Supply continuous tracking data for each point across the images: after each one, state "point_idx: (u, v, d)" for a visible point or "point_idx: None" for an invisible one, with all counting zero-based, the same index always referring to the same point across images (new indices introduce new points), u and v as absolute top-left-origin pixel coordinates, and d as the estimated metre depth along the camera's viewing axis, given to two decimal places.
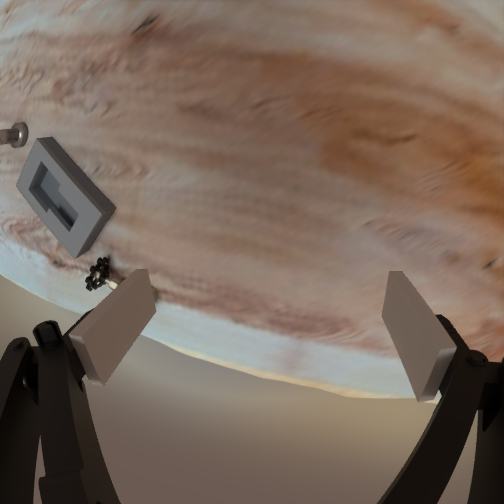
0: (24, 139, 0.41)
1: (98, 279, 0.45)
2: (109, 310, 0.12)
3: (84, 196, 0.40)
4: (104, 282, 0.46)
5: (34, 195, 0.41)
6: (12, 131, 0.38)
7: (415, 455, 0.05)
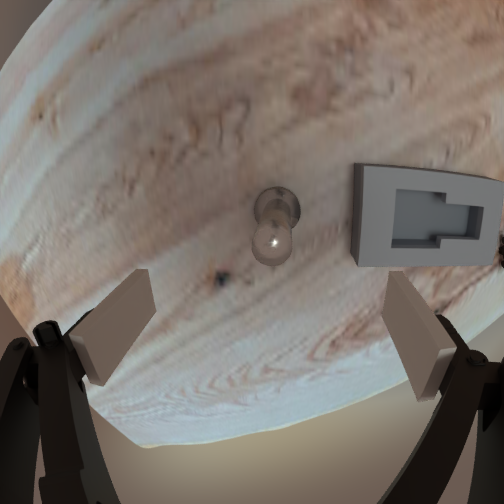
0: None
1: None
2: (109, 310, 0.12)
3: (481, 179, 0.26)
4: None
5: (404, 247, 0.30)
6: (280, 202, 0.31)
7: (415, 455, 0.05)
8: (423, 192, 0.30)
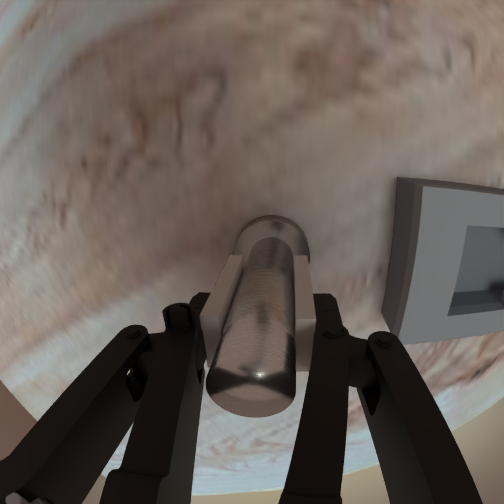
0: None
1: None
2: (229, 291, 0.13)
3: None
4: None
5: (464, 311, 0.17)
6: (276, 248, 0.18)
7: (297, 436, 0.06)
8: None
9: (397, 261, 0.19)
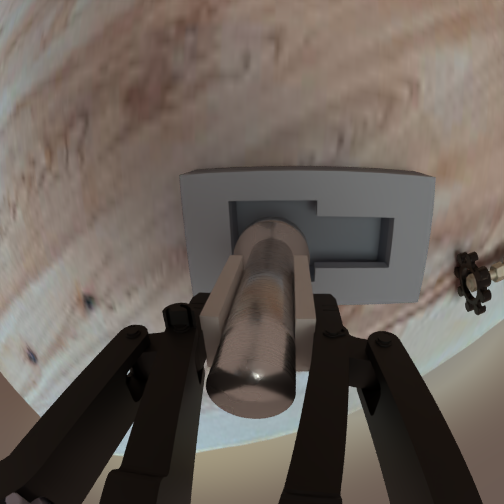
0: None
1: None
2: (229, 291, 0.13)
3: (386, 175, 0.20)
4: None
5: None
6: (276, 249, 0.18)
7: (297, 436, 0.06)
8: (296, 200, 0.25)
9: None
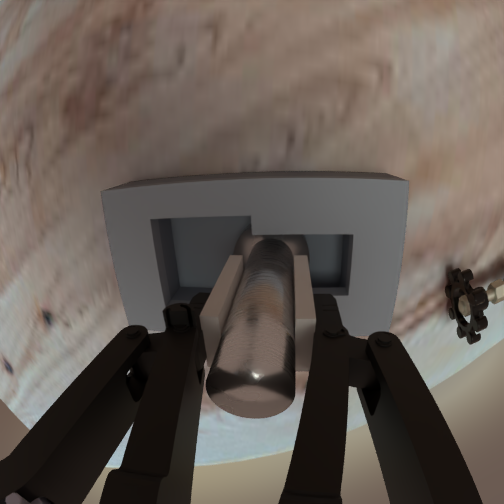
0: None
1: None
2: (229, 291, 0.13)
3: (341, 181, 0.16)
4: None
5: None
6: (275, 249, 0.18)
7: (297, 436, 0.06)
8: None
9: None
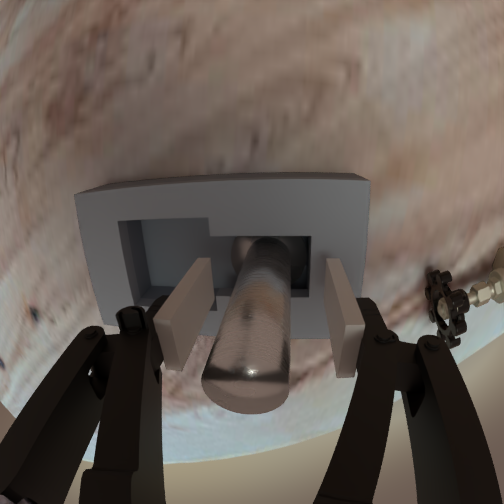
0: None
1: (458, 312, 0.18)
2: (187, 295, 0.13)
3: (297, 182, 0.17)
4: None
5: None
6: (272, 248, 0.18)
7: (339, 439, 0.06)
8: None
9: None
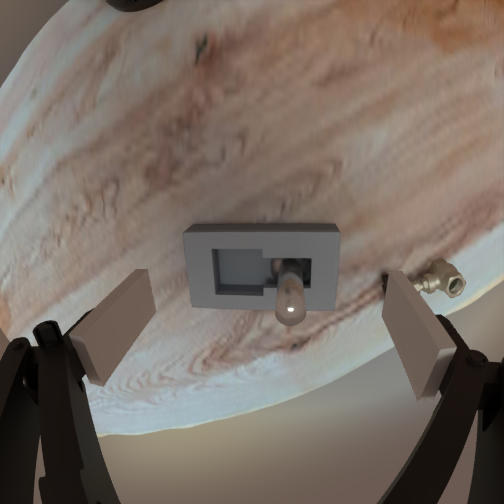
0: None
1: None
2: (109, 310, 0.12)
3: (305, 233, 0.36)
4: None
5: (229, 293, 0.40)
6: (293, 263, 0.37)
7: (415, 455, 0.05)
8: None
9: None
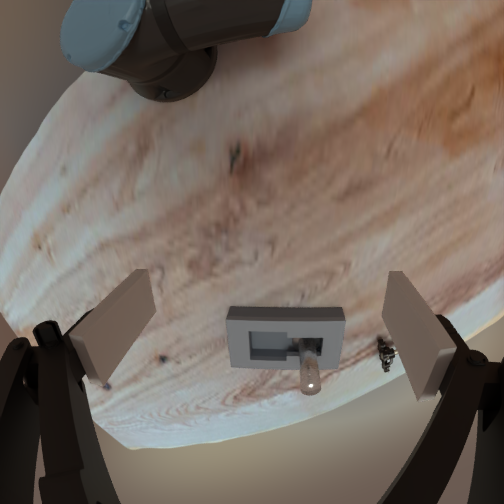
0: None
1: (389, 358, 0.49)
2: (109, 310, 0.12)
3: (319, 322, 0.47)
4: (394, 355, 0.49)
5: (260, 359, 0.51)
6: (310, 342, 0.48)
7: (415, 455, 0.05)
8: None
9: None
